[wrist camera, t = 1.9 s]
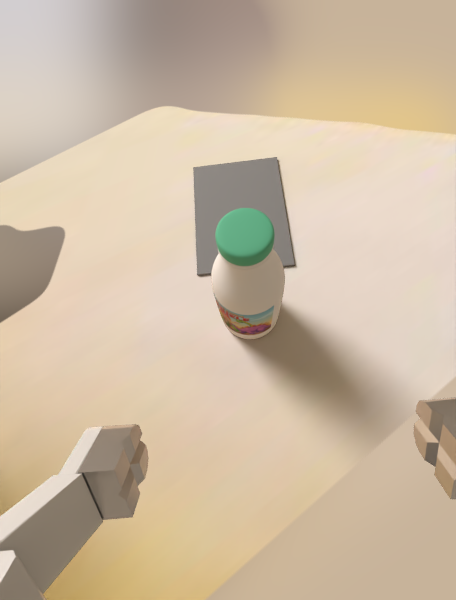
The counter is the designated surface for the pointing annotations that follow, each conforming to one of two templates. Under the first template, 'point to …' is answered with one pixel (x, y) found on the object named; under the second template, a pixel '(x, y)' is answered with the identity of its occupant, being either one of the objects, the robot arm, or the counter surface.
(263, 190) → the mat
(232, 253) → the milk bottle
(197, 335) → the counter surface
